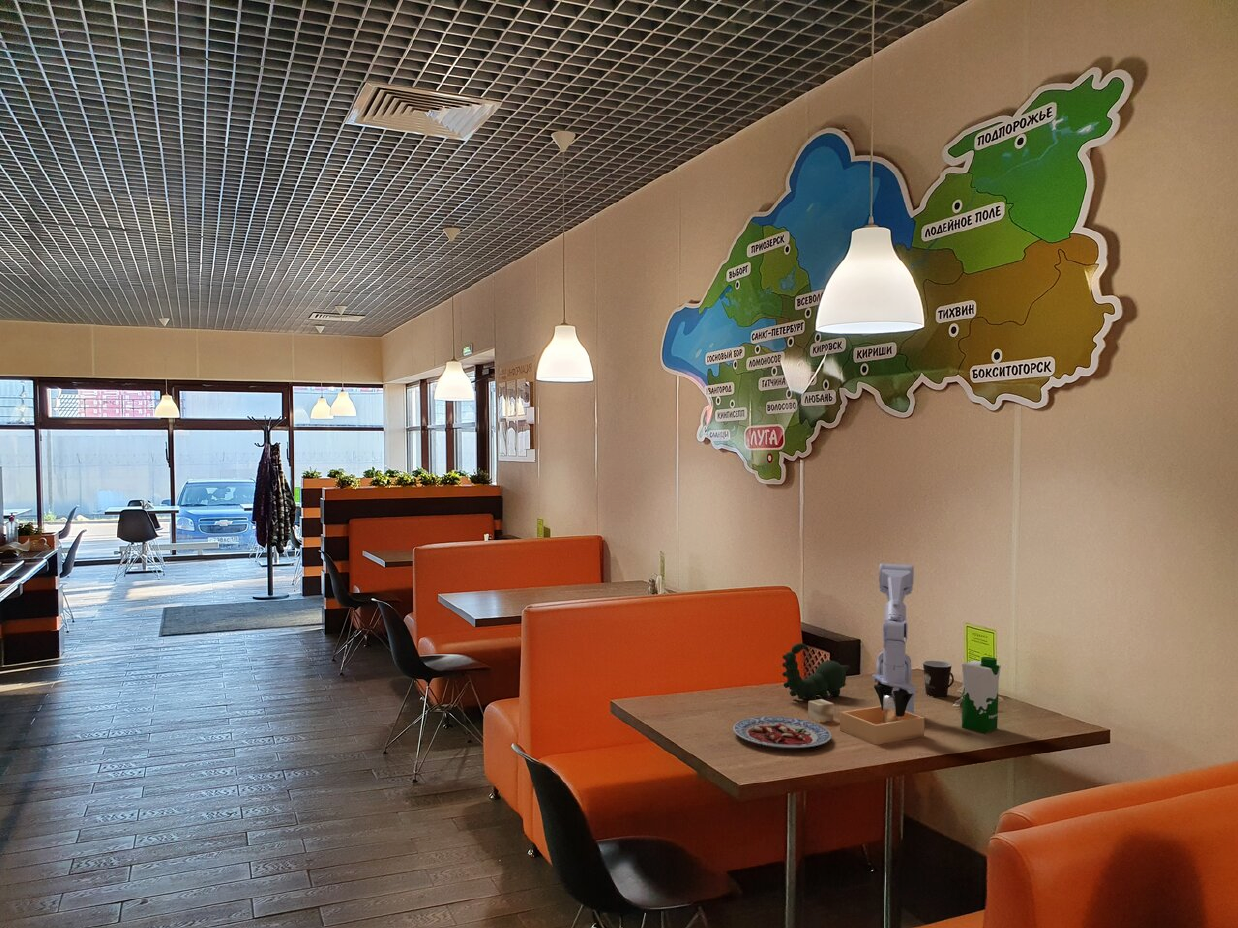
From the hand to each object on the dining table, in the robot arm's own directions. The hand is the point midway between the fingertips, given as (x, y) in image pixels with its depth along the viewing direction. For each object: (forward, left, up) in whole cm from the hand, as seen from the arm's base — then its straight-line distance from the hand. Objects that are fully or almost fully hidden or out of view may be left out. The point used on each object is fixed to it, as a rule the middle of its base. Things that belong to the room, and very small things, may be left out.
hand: (892, 713), depth 250 cm
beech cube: (+11, -17, -5) cm, 21 cm away
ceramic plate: (+32, -8, -5) cm, 33 cm away
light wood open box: (+4, 0, -5) cm, 6 cm away
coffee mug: (-40, -21, -5) cm, 45 cm away
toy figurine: (-3, -35, -5) cm, 36 cm away
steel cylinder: (0, 0, -2) cm, 2 cm away
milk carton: (-25, +8, -5) cm, 27 cm away
